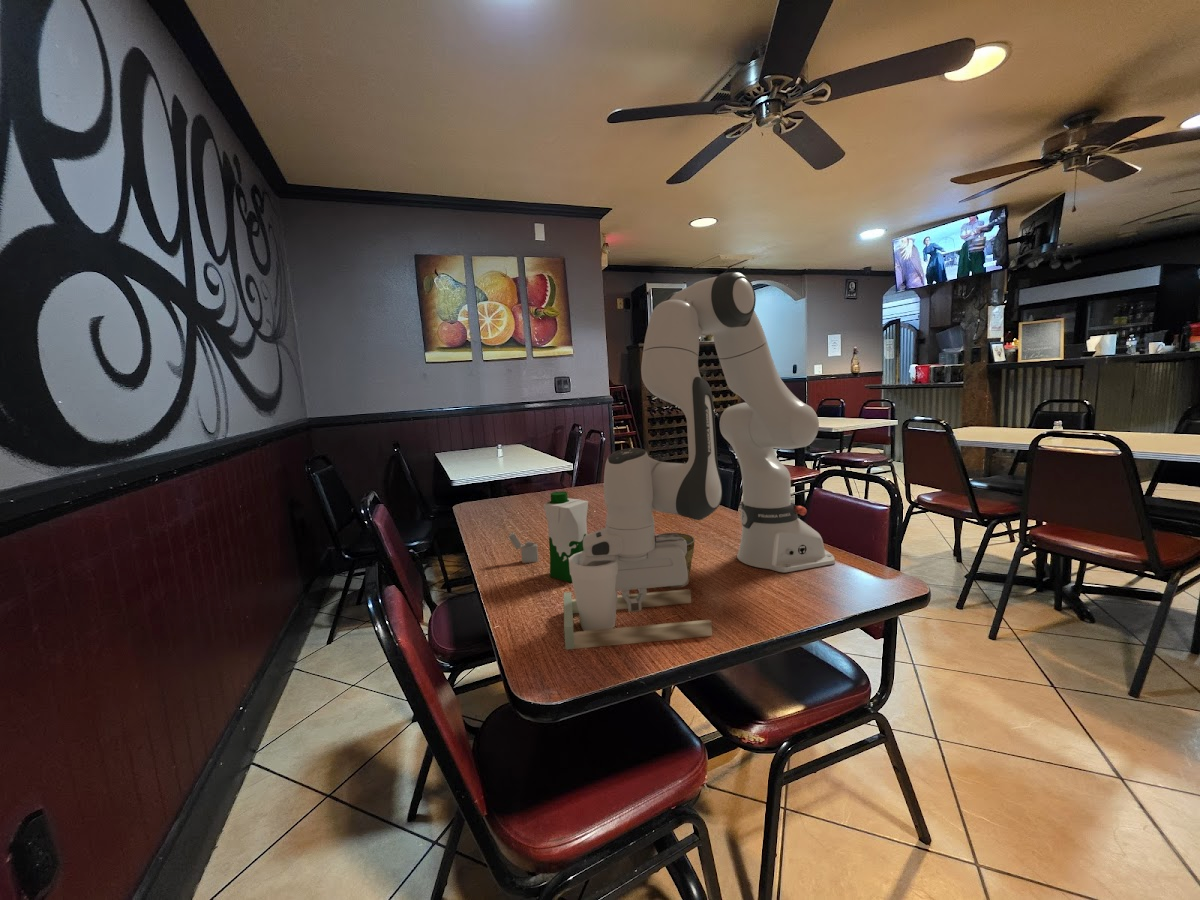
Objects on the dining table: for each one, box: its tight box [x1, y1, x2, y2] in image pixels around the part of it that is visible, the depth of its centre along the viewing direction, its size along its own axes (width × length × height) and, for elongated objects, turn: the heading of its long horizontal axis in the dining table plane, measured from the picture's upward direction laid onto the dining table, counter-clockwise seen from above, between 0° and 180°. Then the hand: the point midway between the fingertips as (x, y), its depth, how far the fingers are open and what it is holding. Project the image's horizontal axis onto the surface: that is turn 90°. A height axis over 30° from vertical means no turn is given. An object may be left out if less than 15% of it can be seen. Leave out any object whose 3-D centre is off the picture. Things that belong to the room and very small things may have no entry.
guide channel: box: [572, 588, 713, 650], centre depth 86 cm, size 24×14×2 cm, turn 95°
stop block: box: [563, 591, 575, 651], centre depth 85 cm, size 2×14×4 cm, turn 5°
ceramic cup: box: [655, 532, 695, 589], centre depth 104 cm, size 13×10×10 cm
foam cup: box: [569, 551, 619, 631], centre depth 85 cm, size 10×9×13 cm
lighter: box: [508, 532, 539, 564], centre depth 121 cm, size 7×2×8 cm, turn 95°
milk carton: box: [543, 491, 589, 584], centre depth 110 cm, size 9×9×20 cm
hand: (634, 610), depth 86 cm, fingers closed
